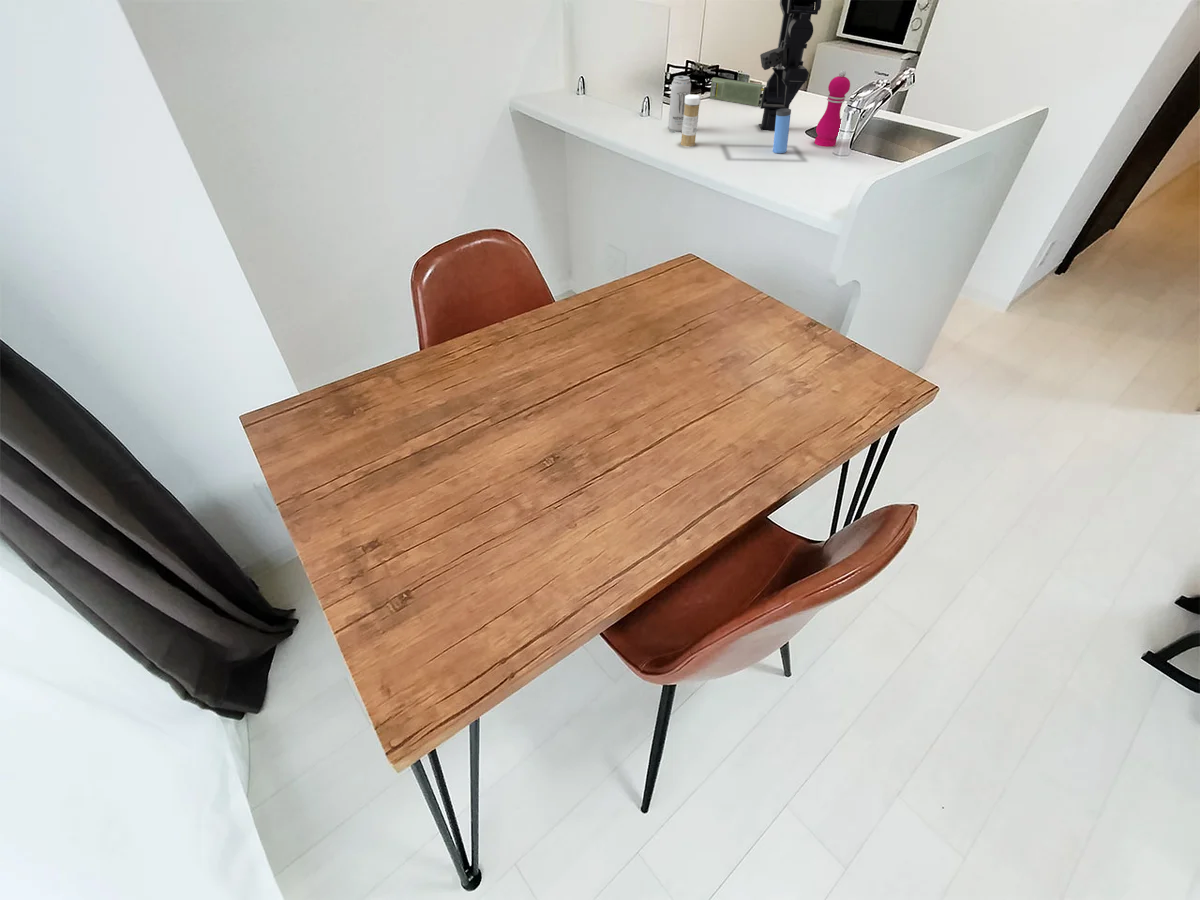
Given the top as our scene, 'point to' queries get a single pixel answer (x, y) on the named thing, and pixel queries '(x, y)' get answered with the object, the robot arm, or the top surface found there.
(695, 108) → the sprinkles bottle
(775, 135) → the tube
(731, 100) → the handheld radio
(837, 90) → the pepper mill
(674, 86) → the energy drink can
